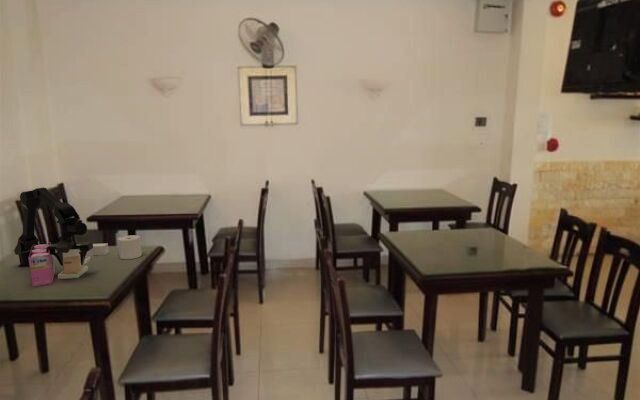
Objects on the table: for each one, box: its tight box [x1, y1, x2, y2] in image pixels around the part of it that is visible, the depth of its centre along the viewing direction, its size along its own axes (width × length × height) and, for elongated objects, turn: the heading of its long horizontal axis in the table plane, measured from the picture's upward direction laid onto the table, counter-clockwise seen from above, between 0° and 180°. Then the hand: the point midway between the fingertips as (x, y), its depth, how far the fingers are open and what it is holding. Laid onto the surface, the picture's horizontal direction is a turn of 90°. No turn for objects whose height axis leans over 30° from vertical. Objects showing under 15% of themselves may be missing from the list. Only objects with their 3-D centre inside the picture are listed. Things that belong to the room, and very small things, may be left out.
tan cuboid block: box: [63, 254, 82, 274], centre depth 214 cm, size 4×8×8 cm, turn 5°
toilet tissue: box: [117, 234, 143, 260], centre depth 239 cm, size 11×12×10 cm
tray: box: [57, 265, 89, 280], centre depth 215 cm, size 9×11×2 cm
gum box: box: [28, 241, 56, 287], centre depth 212 cm, size 24×8×14 cm, turn 27°
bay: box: [72, 242, 110, 266], centre depth 238 cm, size 16×20×5 cm
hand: (72, 265), depth 214 cm, fingers open, 9 cm apart
